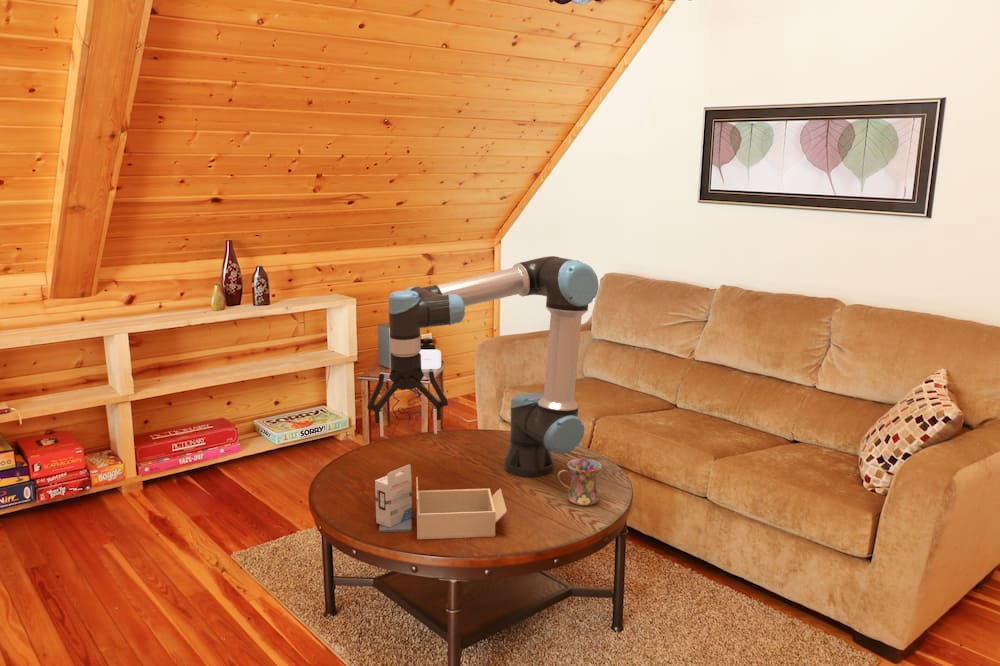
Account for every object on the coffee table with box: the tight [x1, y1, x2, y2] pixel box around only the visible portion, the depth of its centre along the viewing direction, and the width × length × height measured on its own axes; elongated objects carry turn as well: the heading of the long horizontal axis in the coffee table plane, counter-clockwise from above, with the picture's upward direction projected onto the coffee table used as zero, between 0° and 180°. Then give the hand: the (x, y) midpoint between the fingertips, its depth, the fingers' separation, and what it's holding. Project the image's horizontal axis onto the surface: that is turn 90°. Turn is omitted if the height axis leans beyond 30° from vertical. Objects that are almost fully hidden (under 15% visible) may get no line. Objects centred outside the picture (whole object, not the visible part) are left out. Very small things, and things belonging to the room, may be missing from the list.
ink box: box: [374, 464, 413, 528], centre depth 208 cm, size 8×5×15 cm, turn 141°
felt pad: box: [378, 517, 412, 533], centre depth 210 cm, size 8×11×1 cm
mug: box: [557, 458, 603, 506], centre depth 223 cm, size 12×9×11 cm
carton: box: [415, 476, 508, 540], centre depth 209 cm, size 22×17×10 cm
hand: (408, 433), depth 209 cm, fingers open, 13 cm apart
